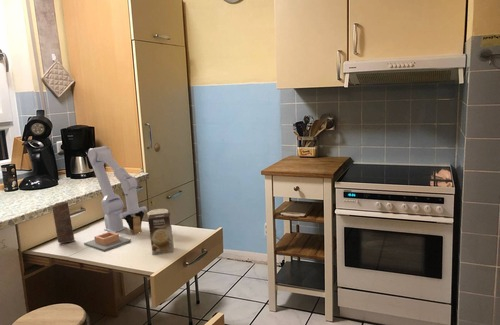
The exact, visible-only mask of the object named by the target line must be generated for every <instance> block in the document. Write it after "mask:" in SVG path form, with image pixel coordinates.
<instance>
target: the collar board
mask: <svg viewBox="0 0 500 325" xmlns="http://www.w3.org/2000/svg"><path fill="white" fill-rule="evenodd" d="M131 242H132V239H129V238H126V237H124V236H120V234H119V233H117V232H110V231H106V232H104V233H101V234H98V235H96V236H95V235H94V239H92V240H88V241H85V242H83V245H84V246H86V247H88V248H93V249H95V250H98V251H102V252H105V253H106V252H107V251H110V250H113V249H115V248H117V247H118V248H119V247H121V246H124V245H126V244H129V243H131Z"/></svg>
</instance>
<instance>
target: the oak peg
mask: <svg viewBox="0 0 500 325" xmlns="http://www.w3.org/2000/svg"><path fill="white" fill-rule="evenodd" d="M132 217H133V230H131V229H130V228H129V232H130V234H132V235H138V234H140V233H143V230H142V223H141V221H140V217H139V216H135V215H133V216H132ZM139 232H140V233H139ZM137 233H138V234H137Z"/></svg>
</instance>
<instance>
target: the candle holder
mask: <svg viewBox="0 0 500 325" xmlns="http://www.w3.org/2000/svg"><path fill="white" fill-rule="evenodd" d="M162 213H169V210H168V209H166V208H156V209H152V210H150V211H147V213H146V216H147V218H148V217H149V215H153V214H162Z"/></svg>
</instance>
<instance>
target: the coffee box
mask: <svg viewBox="0 0 500 325" xmlns="http://www.w3.org/2000/svg"><path fill="white" fill-rule="evenodd" d="M147 221H148V227H149V228H148V229H149V236H150V244H151V245H150V246H151V255H152V256H155V255H163V254H164V255H165V254H169V253H174V249H175V248H174V246H175V245H174V239H173V238H174V236H173V230H172V229H173V227H172V221H171V213H170V212H168V213H162V214H153V215H149V217H148V216H147Z"/></svg>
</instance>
